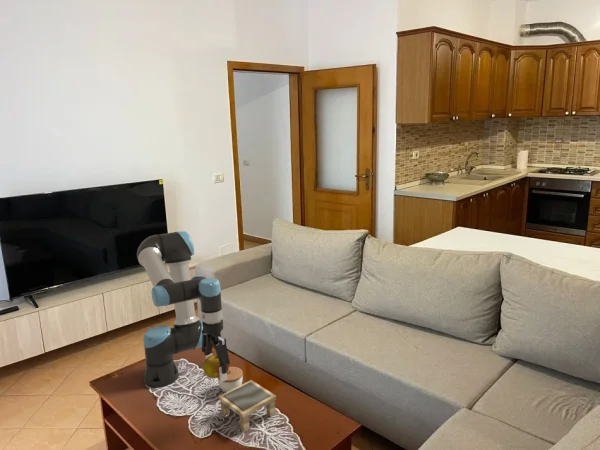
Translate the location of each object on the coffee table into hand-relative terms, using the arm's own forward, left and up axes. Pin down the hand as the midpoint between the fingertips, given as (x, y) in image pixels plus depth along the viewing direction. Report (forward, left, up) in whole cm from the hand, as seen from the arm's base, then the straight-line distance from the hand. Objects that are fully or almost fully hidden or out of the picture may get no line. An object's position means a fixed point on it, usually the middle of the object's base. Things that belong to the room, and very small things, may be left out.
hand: (216, 375), depth 174 cm
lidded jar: (-13, +14, -18) cm, 26 cm away
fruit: (0, 0, 0) cm, 1 cm away
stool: (+6, +9, -18) cm, 21 cm away
